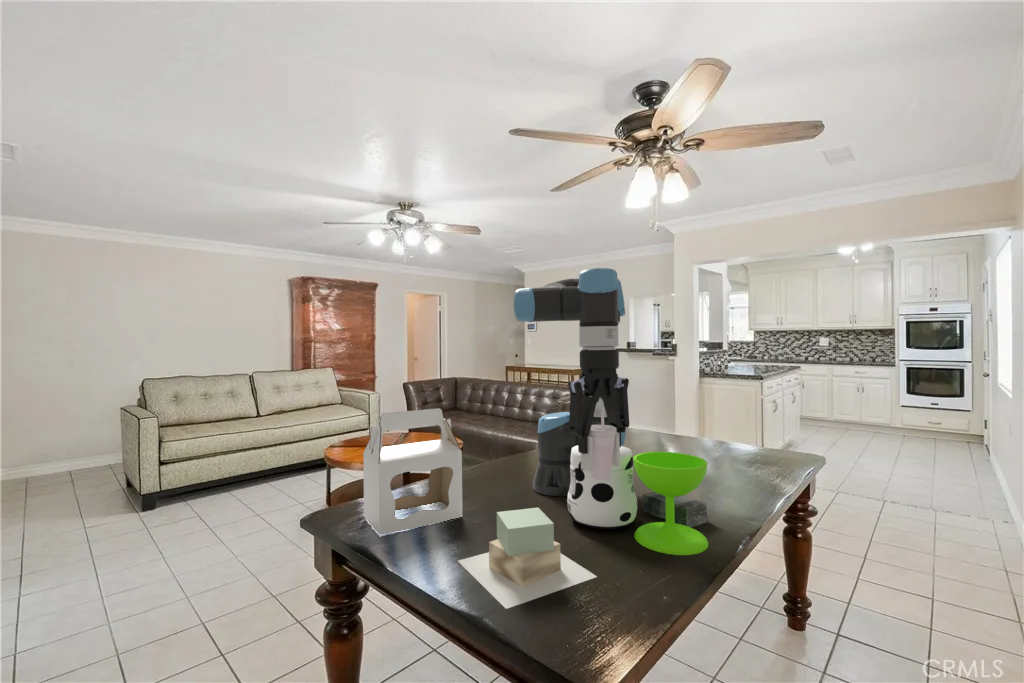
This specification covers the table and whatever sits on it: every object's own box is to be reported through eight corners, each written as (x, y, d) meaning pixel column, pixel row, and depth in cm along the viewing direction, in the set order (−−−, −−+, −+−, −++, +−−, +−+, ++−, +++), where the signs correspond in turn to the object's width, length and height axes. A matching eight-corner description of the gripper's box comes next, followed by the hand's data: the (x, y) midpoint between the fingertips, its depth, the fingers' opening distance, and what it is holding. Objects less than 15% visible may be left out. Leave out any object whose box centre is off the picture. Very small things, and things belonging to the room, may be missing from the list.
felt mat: (457, 562, 93) (457, 560, 93) (538, 540, 103) (538, 538, 103) (506, 611, 76) (506, 608, 76) (597, 578, 86) (597, 576, 86)
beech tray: (489, 567, 90) (488, 542, 90) (526, 552, 96) (526, 528, 96) (522, 587, 82) (522, 559, 82) (560, 569, 89) (560, 543, 89)
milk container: (650, 520, 114) (649, 449, 114) (612, 542, 102) (611, 462, 102) (593, 504, 126) (592, 439, 127) (553, 521, 114) (552, 450, 114)
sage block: (496, 536, 92) (496, 512, 93) (538, 531, 95) (538, 507, 95) (508, 556, 84) (508, 529, 84) (553, 549, 86) (553, 523, 86)
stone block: (666, 506, 125) (666, 487, 125) (711, 523, 113) (711, 502, 113) (642, 511, 121) (642, 492, 121) (686, 530, 108) (686, 508, 108)
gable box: (442, 503, 129) (441, 404, 129) (463, 517, 117) (462, 409, 118) (362, 520, 116) (361, 411, 117) (378, 538, 105) (377, 418, 106)
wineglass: (648, 520, 114) (647, 448, 115) (716, 535, 105) (714, 457, 105) (623, 542, 101) (622, 462, 102) (697, 562, 92) (696, 473, 92)
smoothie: (610, 484, 84) (609, 408, 84) (578, 478, 87) (577, 406, 87) (622, 474, 89) (621, 404, 89) (591, 470, 93) (590, 402, 93)
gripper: (572, 350, 80) (574, 480, 80) (648, 347, 90) (649, 464, 90) (547, 349, 87) (549, 470, 87) (621, 347, 96) (622, 455, 96)
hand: (600, 466), depth 88 cm, fingers closed on smoothie, 6 cm apart
